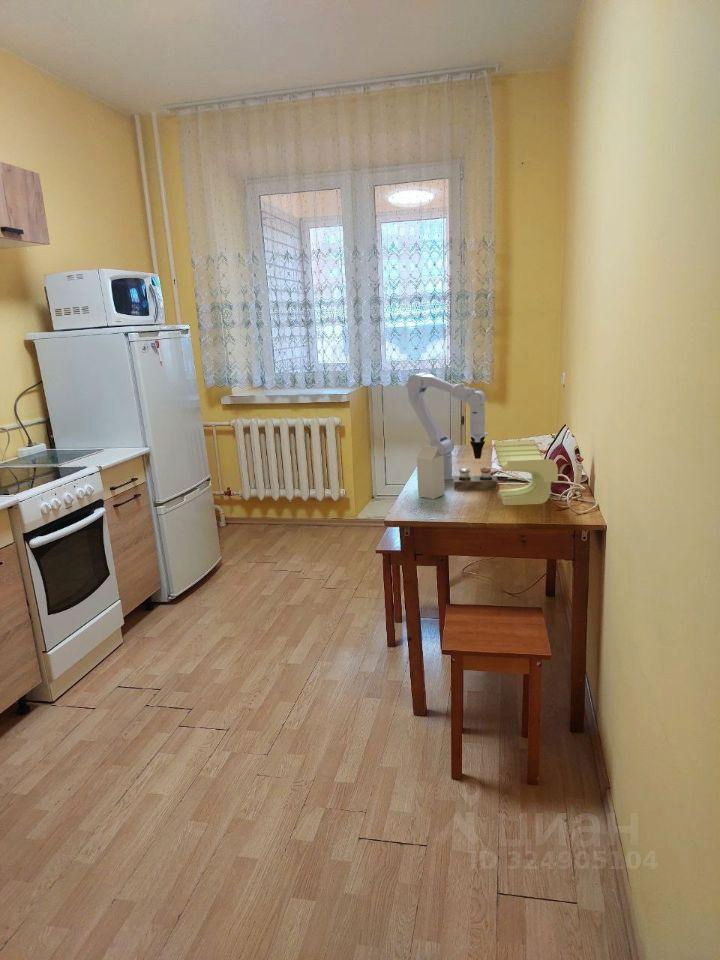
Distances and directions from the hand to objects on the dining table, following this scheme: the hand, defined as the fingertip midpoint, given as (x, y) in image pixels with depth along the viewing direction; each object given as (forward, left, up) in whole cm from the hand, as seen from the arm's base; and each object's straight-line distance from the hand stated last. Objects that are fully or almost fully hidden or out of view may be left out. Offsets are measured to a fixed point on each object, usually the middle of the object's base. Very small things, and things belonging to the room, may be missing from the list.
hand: (477, 456), depth 233 cm
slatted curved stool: (+16, -24, -10) cm, 31 cm away
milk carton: (-17, -20, -10) cm, 28 cm away
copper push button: (+3, -8, -7) cm, 11 cm away
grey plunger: (-5, -8, -7) cm, 12 cm away
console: (-1, -8, -10) cm, 13 cm away
